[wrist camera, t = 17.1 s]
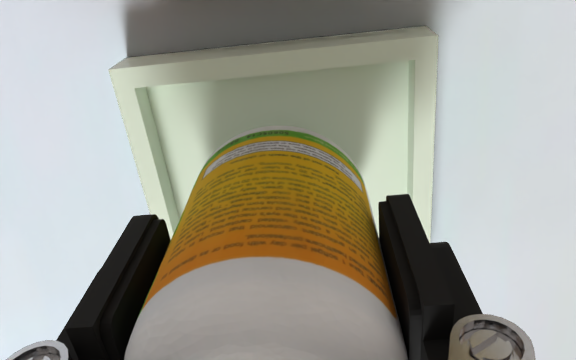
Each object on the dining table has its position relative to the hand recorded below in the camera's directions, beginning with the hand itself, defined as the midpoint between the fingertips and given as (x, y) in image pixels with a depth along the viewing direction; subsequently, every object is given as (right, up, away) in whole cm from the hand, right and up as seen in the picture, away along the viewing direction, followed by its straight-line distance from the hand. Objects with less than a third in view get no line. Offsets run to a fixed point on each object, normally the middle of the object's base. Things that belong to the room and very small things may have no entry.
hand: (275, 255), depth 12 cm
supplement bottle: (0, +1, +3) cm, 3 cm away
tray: (0, +2, +4) cm, 5 cm away
